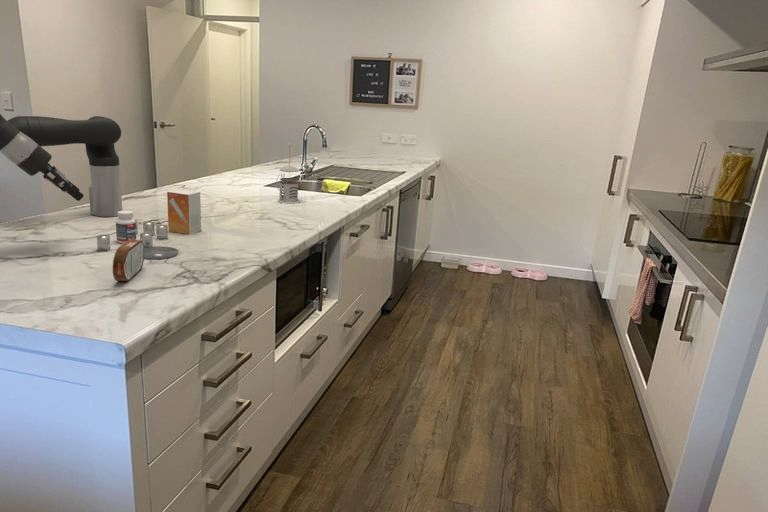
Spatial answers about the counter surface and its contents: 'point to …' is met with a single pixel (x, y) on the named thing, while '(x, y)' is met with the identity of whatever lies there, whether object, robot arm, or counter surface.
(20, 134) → the robot arm
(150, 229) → the cylinder
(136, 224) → the cylinder
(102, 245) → the spacer near
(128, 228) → the pill bottle
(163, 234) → the cylinder
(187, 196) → the small box
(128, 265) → the tin
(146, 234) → the cylinder
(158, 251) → the coaster
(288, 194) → the french press
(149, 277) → the counter surface
